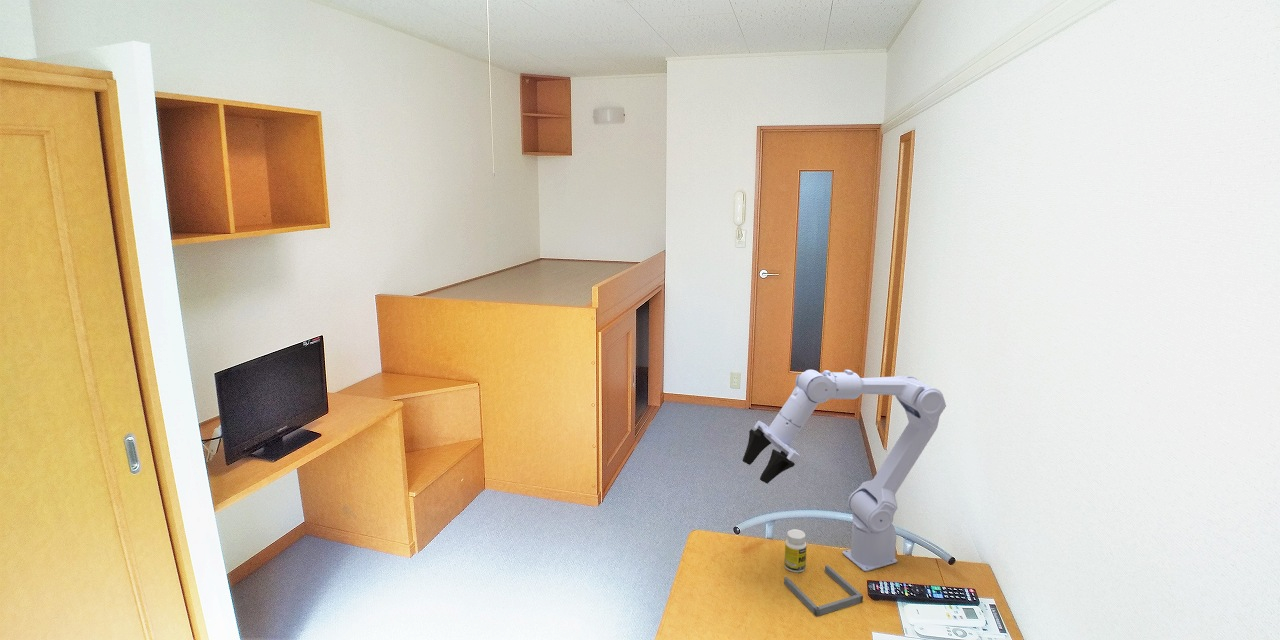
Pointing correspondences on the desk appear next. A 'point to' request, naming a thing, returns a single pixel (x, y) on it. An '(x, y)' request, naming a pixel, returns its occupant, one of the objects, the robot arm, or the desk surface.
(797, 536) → the supplement bottle
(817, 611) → the corral
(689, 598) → the desk surface
